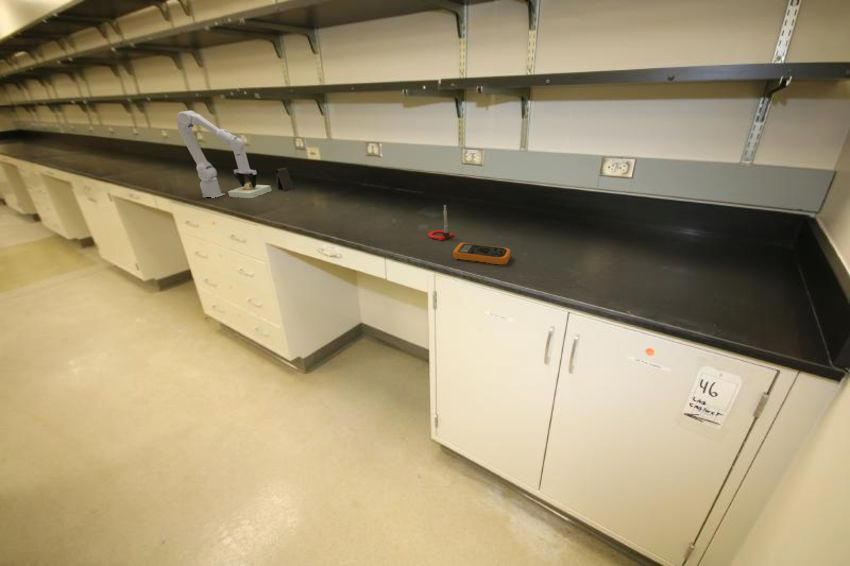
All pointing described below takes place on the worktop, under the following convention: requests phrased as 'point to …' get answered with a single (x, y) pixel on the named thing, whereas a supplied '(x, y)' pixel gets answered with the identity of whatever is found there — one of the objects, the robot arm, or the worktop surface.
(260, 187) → the plate
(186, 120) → the robot arm
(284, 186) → the phone stand
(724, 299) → the worktop surface
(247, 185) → the cylinder
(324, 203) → the worktop surface
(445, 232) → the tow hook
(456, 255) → the multimeter
